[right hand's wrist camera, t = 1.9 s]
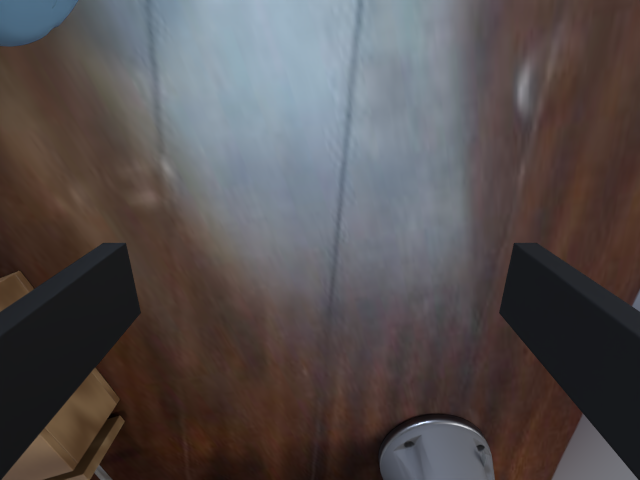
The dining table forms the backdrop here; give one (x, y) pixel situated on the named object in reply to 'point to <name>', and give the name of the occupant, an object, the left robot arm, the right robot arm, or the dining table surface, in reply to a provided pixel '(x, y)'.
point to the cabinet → (60, 413)
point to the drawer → (94, 453)
